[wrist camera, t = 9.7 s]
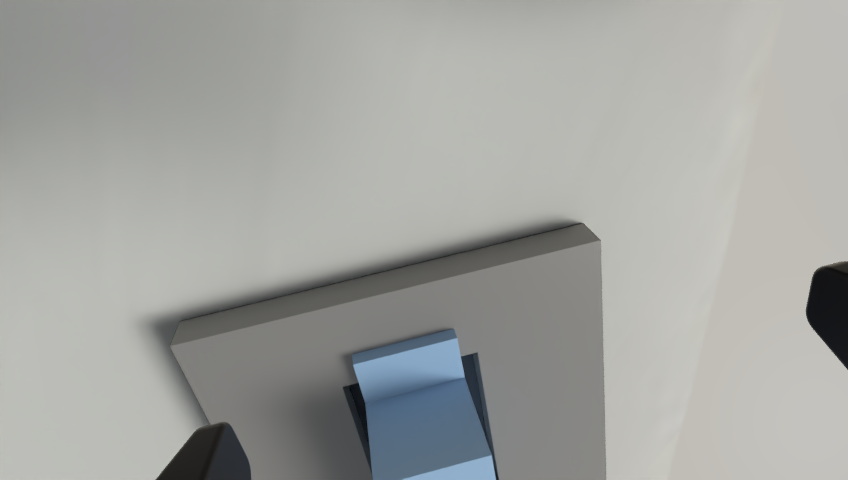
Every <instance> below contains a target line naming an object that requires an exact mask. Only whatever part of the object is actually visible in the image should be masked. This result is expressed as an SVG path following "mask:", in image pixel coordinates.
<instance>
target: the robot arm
mask: <svg viewBox="0 0 848 480" xmlns="http://www.w3.org/2000/svg"><path fill="white" fill-rule="evenodd" d="M806 316H807V319H808V322H809V324H810V325H811V327H812V328H813V329H814V330H815V332H816V333H817V334H818V335H819V336H820V338H821V339H822V340H823V341H824V342H825V343H826V345H827V346H828V347H829V348H830V349H831V350H832V352H833V353H834V354H835V355H836V356H837V358H838V359H839V360H840V361H841V362H842V363H843V364H844V366H845V367H846V368H847V369H848V262H846V261H844V262H838V263H834V264H830V265H826V266H822V267H820V268H818V269H817V270H816V271H815V272H814V274H813V277H812V281H811V286H810V292H809V297H808V302H807V307H806ZM156 480H251V469H250V464H249V460H248V458H247V456H246V454H245V452H244V450H243V448H242V446H241V444H240V442H239V440H238V438H237V436H236V434H235V432H234V430H233V428H232V426H231V425H230V424H229V423H227V422H219V423H215V424H212V425H208V426H204V427H201V428H199V429H197V430H196V431H195V432H194V433H193V434H192V436H191V437H190V438H189V439H188V440H187V442H186V443H185V444H184V445H183V447H182V448H181V449H180V450H179V452H178V453H177V454H176V455H175V457H174V458H173V459H172V460H171V461H170V463H169V464H168V465H167V466H166V468H165V469H164V470H163V471H162V473H161V474H160V475H159V476H158V478H157V479H156Z"/></svg>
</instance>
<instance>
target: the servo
mask: <svg viewBox="0 0 848 480" xmlns="http://www.w3.org/2000/svg"><path fill="white" fill-rule="evenodd" d="M352 359H353V367H354V370H355V373H356V376H357V379H358V382H359V385H360V388H361V392H362V395H363V398H364V401H365V405H366V415H367V426H368V436H369V446H370V456H371V467H372V477H373V480H496V477H495V471H494V465H493V460H492V454H491V452H490V449H489V446H488V443H487V440H486V437H485V434H484V431H483V429H482V426H481V423H480V420H479V417H478V414H477V411H476V408H475V405H474V403H473V400H472V397H471V394H470V391H469V388H468V385H467V382H466V379H465V376H464V370H463V365H462V360H461V355H460V350H459V344H458V339H457V336H456V333H455V330H454V329H450V330H446V331H443V332H439V333H435V334H431V335H427V336H423V337H419V338H415V339H411V340H407V341H403V342H399V343H395V344H391V345H388V346H384V347H380V348H376V349H372V350H368V351H364V352H360V353H356V354H352Z"/></svg>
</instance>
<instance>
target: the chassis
mask: <svg viewBox="0 0 848 480" xmlns="http://www.w3.org/2000/svg"><path fill="white" fill-rule="evenodd" d="M450 329H454V330H455V333H456V336H457V339H458V344H459V350H460V355H461V356H465V355H469V354H473V358H474V364H475V370H476V376H477V381H478V387H479V393H480V399H481V404H482V410H483V416H484V422H485V427H486V433H487V439H488V445H489V449H490V452H491V454H492V460H493V465H494V471H495V477H496V480H606V449H605V406H604V362H603V318H602V274H601V240H600V239H599V238H598V237H597V236H596V235H595V234H594V233H593V232H592V231H591V230H590V229H589V228H588V227H587V226H586V225H585V224H584V223H583V224H579V225H574V226H570V227H566V228H562V229H558V230H554V231H550V232H546V233H542V234H538V235H533V236H529V237H525V238H521V239H517V240H513V241H509V242H505V243H501V244H496V245H492V246H488V247H484V248H480V249H476V250H472V251H468V252H464V253H460V254H455V255H451V256H447V257H443V258H439V259H435V260H431V261H427V262H423V263H418V264H414V265H410V266H406V267H402V268H398V269H394V270H390V271H386V272H382V273H377V274H373V275H369V276H365V277H361V278H357V279H353V280H349V281H345V282H340V283H336V284H332V285H328V286H324V287H320V288H316V289H312V290H308V291H304V292H299V293H295V294H291V295H287V296H283V297H279V298H275V299H271V300H267V301H262V302H258V303H254V304H250V305H246V306H242V307H238V308H234V309H230V310H226V311H221V312H217V313H213V314H209V315H205V316H201V317H197V318H193V319H189V320H185V321H180V322H179V325H178V327H177V330H176V332H175V335H174V337H173V340H172V342H171V345H170V348H171V350H172V352H173V354H174V356H175V357H176V359H177V361H178V363H179V365H180V367H181V369H182V371H183V373H184V375H185V377H186V379H187V381H188V382H189V384H190V386H191V388H192V390H193V392H194V394H195V396H196V398H197V400H198V402H199V404H200V406H201V407H202V409H203V411H204V413H205V415H206V417H207V419H208V421H209V423H210V425H212V424H215V423H219V422H227V423H229V424H230V425H231V426H232V428H233V430H234V432H235V434H236V436H237V438H238V440H239V442H240V444H241V446H242V448H243V450H244V452H245V454H246V456H247V458H248V460H249V464H250V469H251V480H373V477H372V467H371V456H370V448H369V445H368V442H367V439H366V436H365V433H364V430H363V427H362V424H361V421H360V418H359V415H358V412H357V409H356V406H355V403H354V400H353V397H352V394H351V391H350V388H349V385H352V384H356V383H359V382H358V379H357V376H356V373H355V370H354V367H353V359H352V354H356V353H360V352H364V351H368V350H372V349H376V348H380V347H384V346H388V345H391V344H395V343H399V342H403V341H407V340H411V339H415V338H419V337H423V336H427V335H431V334H435V333H439V332H443V331H446V330H450Z"/></svg>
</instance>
